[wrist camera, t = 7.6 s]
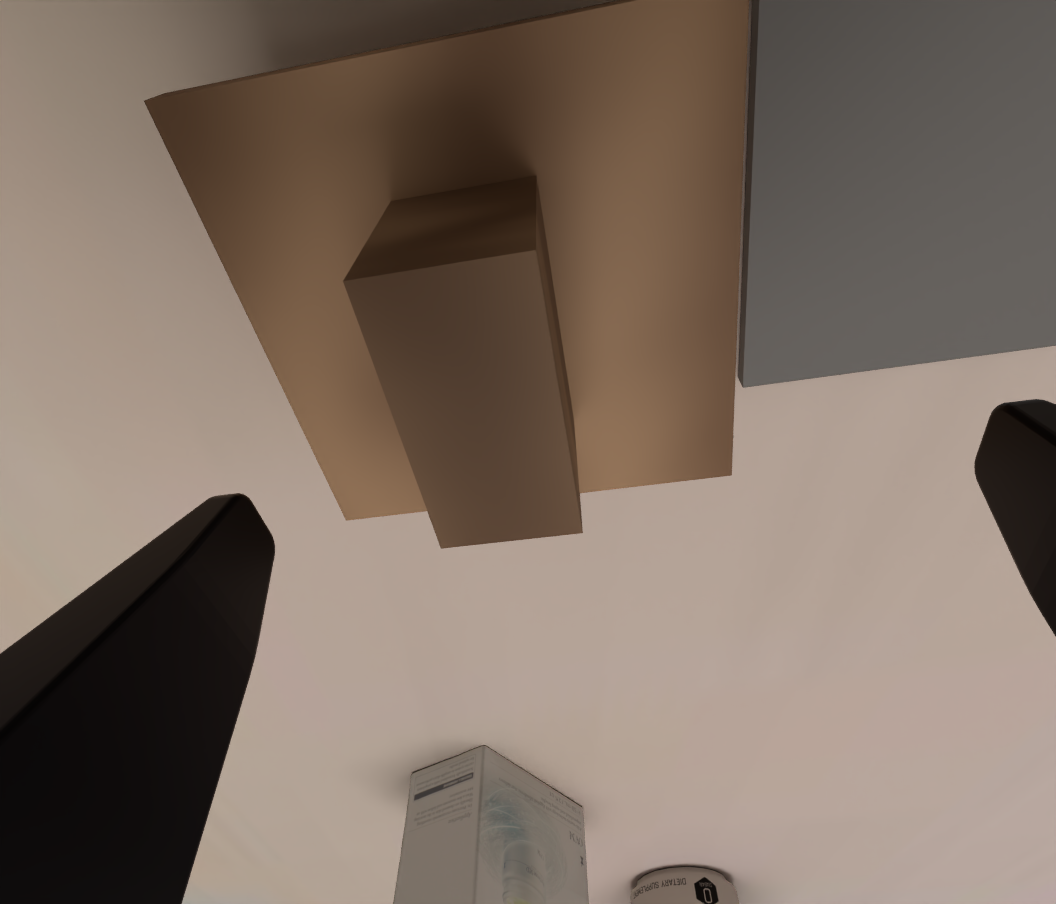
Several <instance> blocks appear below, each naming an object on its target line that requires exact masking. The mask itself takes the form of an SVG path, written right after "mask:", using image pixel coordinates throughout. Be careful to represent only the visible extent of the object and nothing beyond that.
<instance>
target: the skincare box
mask: <svg viewBox="0 0 1056 904" xmlns="http://www.w3.org/2000/svg"><path fill="white" fill-rule="evenodd" d="M393 904H589V898H588V882H587V865H586V849H585V831H584V816H583V808H582V807H581V806H579V805H577V804H576V803H574V802H573V801H571V800H570V799H568V798H566V797H565V796H563V795H562V794H560V793H559V792H557V791H555V790H554V789H552V788H551V787H549V786H548V785H546V784H545V783H543V782H541V781H540V780H538V779H537V778H535V777H534V776H532V775H530V774H529V773H527V772H526V771H524V770H523V769H521V768H520V767H518V766H516V765H515V764H513V763H512V762H510V761H509V760H507V759H506V758H504V757H502V756H501V755H499V754H498V753H496V752H495V751H493V750H491V749H490V748H488V747H486V746H481V747H478V748H475V749H473V750H470V751H468V752H465V753H463V754H461V755H459V756H456V757H454V758H452V759H448V760H445V761H443V762H440V763H438V764H436V765H433V766H430V767H428V768H425V769H423V770H420V771H417V772H415V773H413V774H412V775H411V781H410V790H409V799H408V806H407V813H406V821H405V827H404V834H403V841H402V847H401V856H400V862H399V868H398V875H397V882H396V888H395V895H394V902H393Z"/></svg>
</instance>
